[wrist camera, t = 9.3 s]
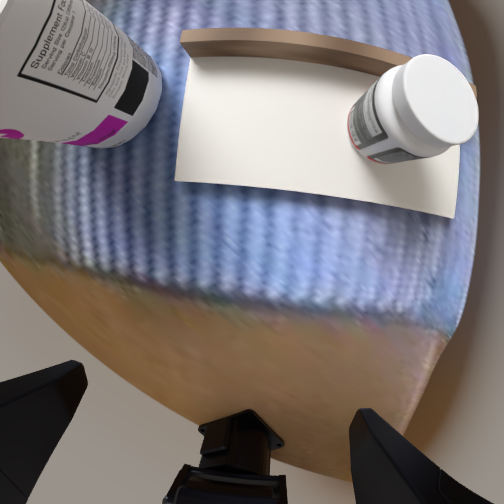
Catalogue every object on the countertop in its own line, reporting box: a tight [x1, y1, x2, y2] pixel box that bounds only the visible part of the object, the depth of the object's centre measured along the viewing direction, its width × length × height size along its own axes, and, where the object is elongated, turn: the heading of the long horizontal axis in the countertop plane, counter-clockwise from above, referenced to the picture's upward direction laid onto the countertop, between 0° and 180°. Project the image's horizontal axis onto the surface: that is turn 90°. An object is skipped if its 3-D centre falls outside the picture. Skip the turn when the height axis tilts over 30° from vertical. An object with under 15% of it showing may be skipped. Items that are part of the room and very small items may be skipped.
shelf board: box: [175, 28, 477, 219], centre depth 15 cm, size 20×10×4 cm, turn 85°
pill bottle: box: [347, 54, 478, 164], centre depth 12 cm, size 5×5×8 cm
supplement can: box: [0, 0, 162, 149], centre depth 10 cm, size 8×8×15 cm
